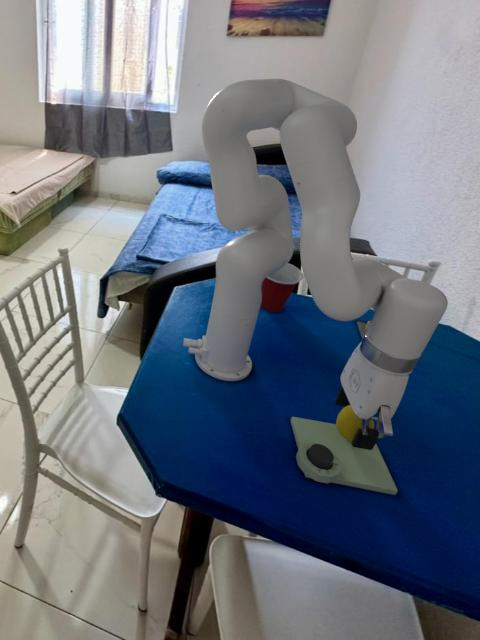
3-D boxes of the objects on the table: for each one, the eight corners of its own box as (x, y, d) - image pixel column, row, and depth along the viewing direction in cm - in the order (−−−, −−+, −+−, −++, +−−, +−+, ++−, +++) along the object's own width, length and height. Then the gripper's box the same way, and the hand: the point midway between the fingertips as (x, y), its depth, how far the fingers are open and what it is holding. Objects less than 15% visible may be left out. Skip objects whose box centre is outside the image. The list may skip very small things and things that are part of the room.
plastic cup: (254, 315, 110) (264, 278, 104) (247, 294, 119) (256, 258, 113) (296, 320, 108) (309, 282, 102) (286, 298, 118) (297, 262, 112)
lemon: (369, 454, 72) (386, 424, 68) (336, 448, 73) (350, 417, 69) (358, 429, 77) (373, 399, 73) (327, 423, 78) (340, 393, 74)
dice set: (391, 342, 101) (394, 336, 100) (368, 337, 103) (371, 331, 102) (386, 330, 106) (389, 324, 105) (364, 326, 107) (367, 320, 106)
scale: (299, 482, 68) (304, 471, 67) (283, 419, 80) (287, 408, 78) (398, 502, 66) (406, 491, 64) (367, 434, 77) (373, 423, 76)
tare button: (310, 467, 68) (313, 460, 67) (305, 448, 71) (308, 441, 70) (333, 471, 67) (336, 464, 67) (327, 452, 71) (330, 445, 70)
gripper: (345, 316, 73) (316, 385, 81) (385, 388, 58) (345, 464, 66) (390, 322, 72) (357, 392, 80) (443, 397, 57) (395, 474, 65)
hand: (352, 424), depth 73 cm, fingers open, 8 cm apart
